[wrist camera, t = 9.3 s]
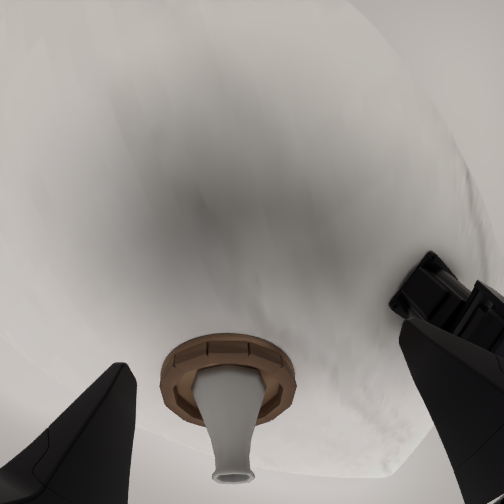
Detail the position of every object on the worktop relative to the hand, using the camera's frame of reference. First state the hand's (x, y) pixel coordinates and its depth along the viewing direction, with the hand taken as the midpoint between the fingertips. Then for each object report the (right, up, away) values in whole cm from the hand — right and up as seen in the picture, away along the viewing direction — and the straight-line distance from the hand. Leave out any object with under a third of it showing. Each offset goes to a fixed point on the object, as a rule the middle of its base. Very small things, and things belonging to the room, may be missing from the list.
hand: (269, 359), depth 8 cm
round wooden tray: (-3, -9, +17) cm, 20 cm away
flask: (-3, -10, +17) cm, 19 cm away
